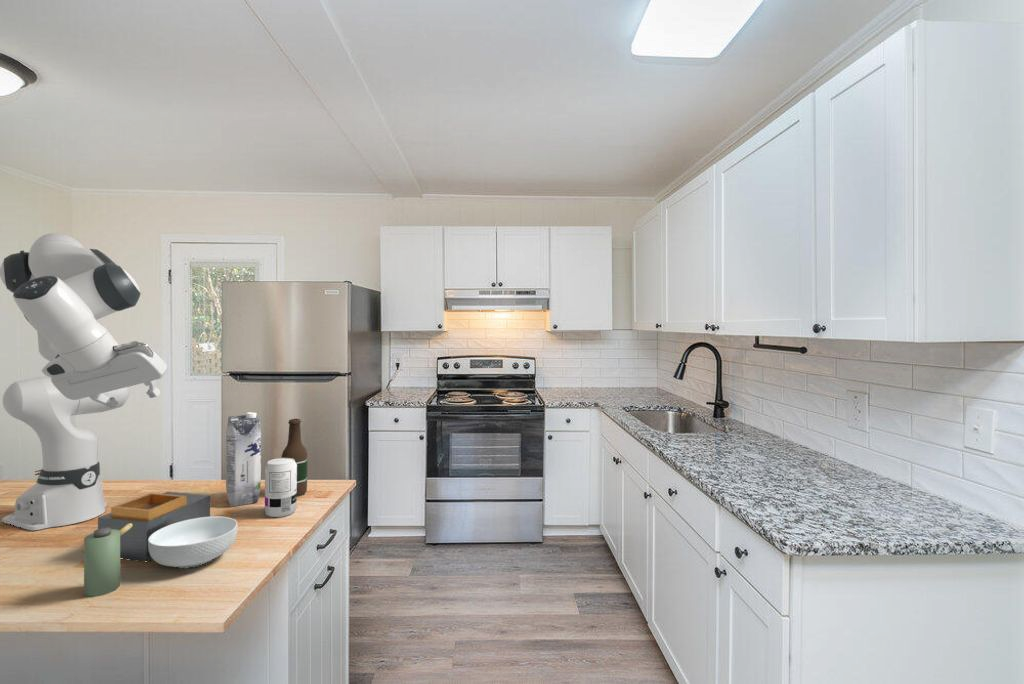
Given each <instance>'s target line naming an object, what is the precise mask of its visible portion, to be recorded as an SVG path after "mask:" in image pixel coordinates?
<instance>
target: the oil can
mask: <svg viewBox="0 0 1024 684" xmlns="http://www.w3.org/2000/svg"><path fill="white" fill-rule="evenodd" d="M132 526H133V525H132V524H131V523H129V524H127V525H126V526H125V527H124V528H122V529H121V530H120V531H119V530H115V529H111V528H101V529H98V528H97V529H95V530H94V531H93V532H91V533H90V534H88V535H86V536H85V537H84V538H83V595H84V596H85V597H87V598H93V597H95V598H96V597H99V596H104V595H107V594H109V593H113V592H114V591H116V590H118V589H119V588H118V587H120V586H121V559H120V536H121V535H123V534H124V533H125V532H126V531H128V530H129V529H130V528H131V527H132Z"/></svg>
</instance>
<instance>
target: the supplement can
mask: <svg viewBox="0 0 1024 684" xmlns="http://www.w3.org/2000/svg"><path fill="white" fill-rule="evenodd" d="M297 500H298V499H297V464H296V462H295V460H294V459H292V458H281V457H278V458H274V459H270V460H268V461H267V464H266V465H265V467H264V514H265V515H266V516H267V515H268V516H267V517H269V516H270V517H269V518H273V517H277V518H283V517H288V516H290V515H292V514H293V512H295V511H296V510H297V508H298V507H297V506H298V505H297Z"/></svg>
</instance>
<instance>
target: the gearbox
mask: <svg viewBox="0 0 1024 684" xmlns="http://www.w3.org/2000/svg"><path fill="white" fill-rule="evenodd" d="M201 517H211V495H209V494H197V493H186V492H175V491H165V492H162V493H158V492H150V493H147V494H145V495H144V494H143V495H142V496H138V497H136V498H133V499H130V500H128V501H125V502H122V503H119V504H117V505H114V506H112V507H110V513H106V514H103V515H101V516H97V529H101V528H111V529H115V530H119V531H120V530H121V529H122V528H124V527H125V526H126V525H127V524H129V523H131V524H132V525H133V526H132V527H131V528H130V529H129V530H128V531H126V532H125V533H124V534H123V535H121V536H120V558H123V559H130V560H129V561H132V560H138V561H137V562H140V561H148V560H150V561H152V560H153V559H152V557H151V556H150V553H149V550H148V538H149V537H150V536H151V535H152V534H153V533H154V532H156V531H157V530H159V529H161V528H164V527H166V526H168V525H171V524H174V523H177V522H181V521H185V520H189V519H195V518H201ZM123 559H122V560H123ZM151 559H152V560H151ZM148 562H149V561H148Z"/></svg>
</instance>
